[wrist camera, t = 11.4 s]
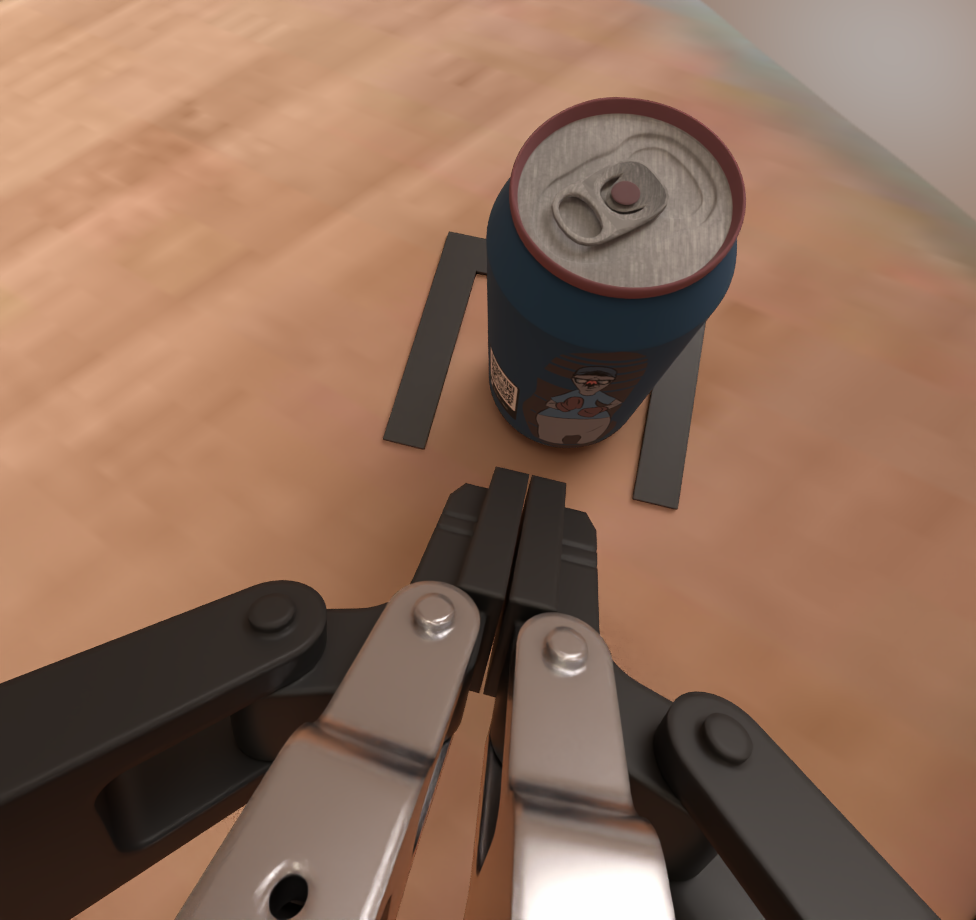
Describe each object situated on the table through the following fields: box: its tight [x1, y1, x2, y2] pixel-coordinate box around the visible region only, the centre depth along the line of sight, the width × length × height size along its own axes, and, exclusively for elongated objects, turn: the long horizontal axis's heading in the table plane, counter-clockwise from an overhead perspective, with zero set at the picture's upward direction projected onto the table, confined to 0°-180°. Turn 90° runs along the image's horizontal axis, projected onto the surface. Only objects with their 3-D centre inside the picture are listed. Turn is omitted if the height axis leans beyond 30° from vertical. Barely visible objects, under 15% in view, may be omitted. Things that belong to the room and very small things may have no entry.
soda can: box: [486, 97, 746, 448], centre depth 17 cm, size 7×7×12 cm
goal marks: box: [383, 232, 706, 509], centre depth 24 cm, size 12×14×1 cm
